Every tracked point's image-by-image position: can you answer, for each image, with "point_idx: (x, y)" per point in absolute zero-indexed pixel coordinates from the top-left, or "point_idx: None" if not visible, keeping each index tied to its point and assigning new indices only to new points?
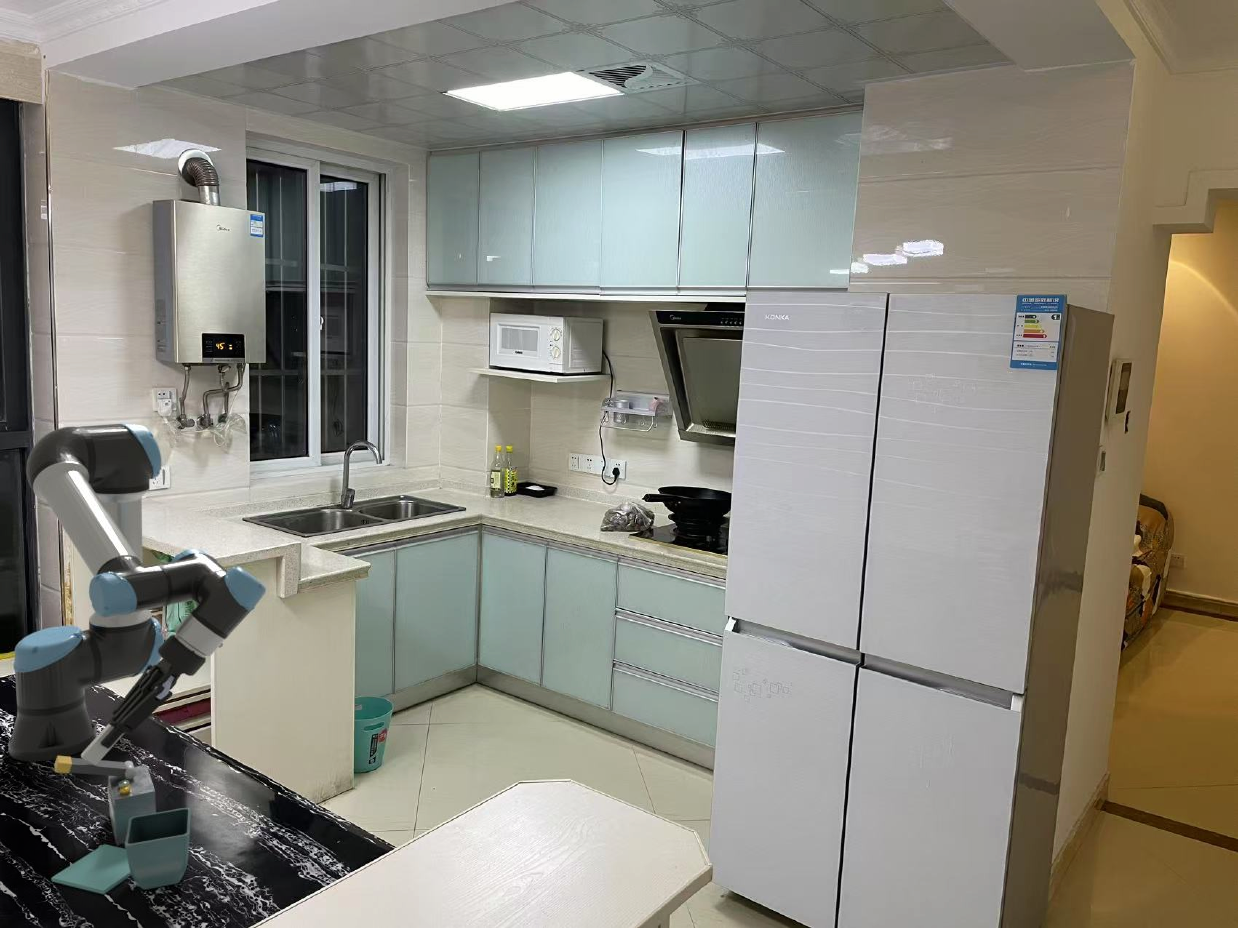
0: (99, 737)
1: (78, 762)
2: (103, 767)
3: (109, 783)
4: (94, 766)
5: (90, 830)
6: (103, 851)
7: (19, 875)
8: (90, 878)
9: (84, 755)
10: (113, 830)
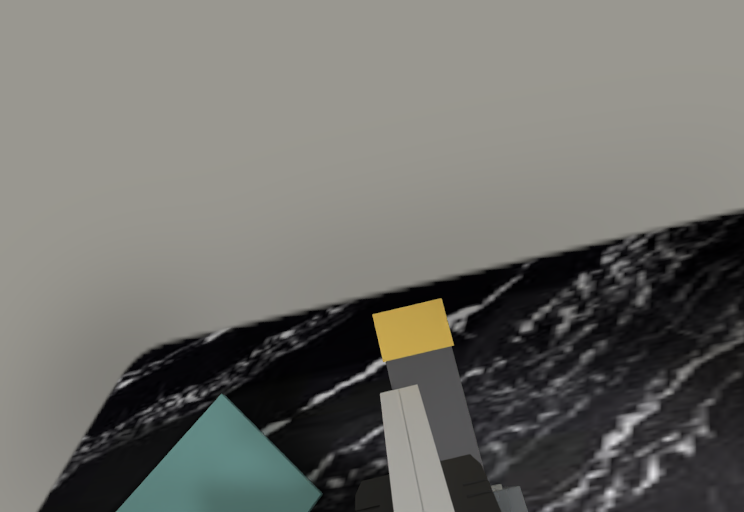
0: (394, 467)
1: (414, 381)
2: None
3: None
4: None
5: None
6: (283, 496)
7: (277, 330)
8: (174, 480)
9: (381, 403)
10: None
